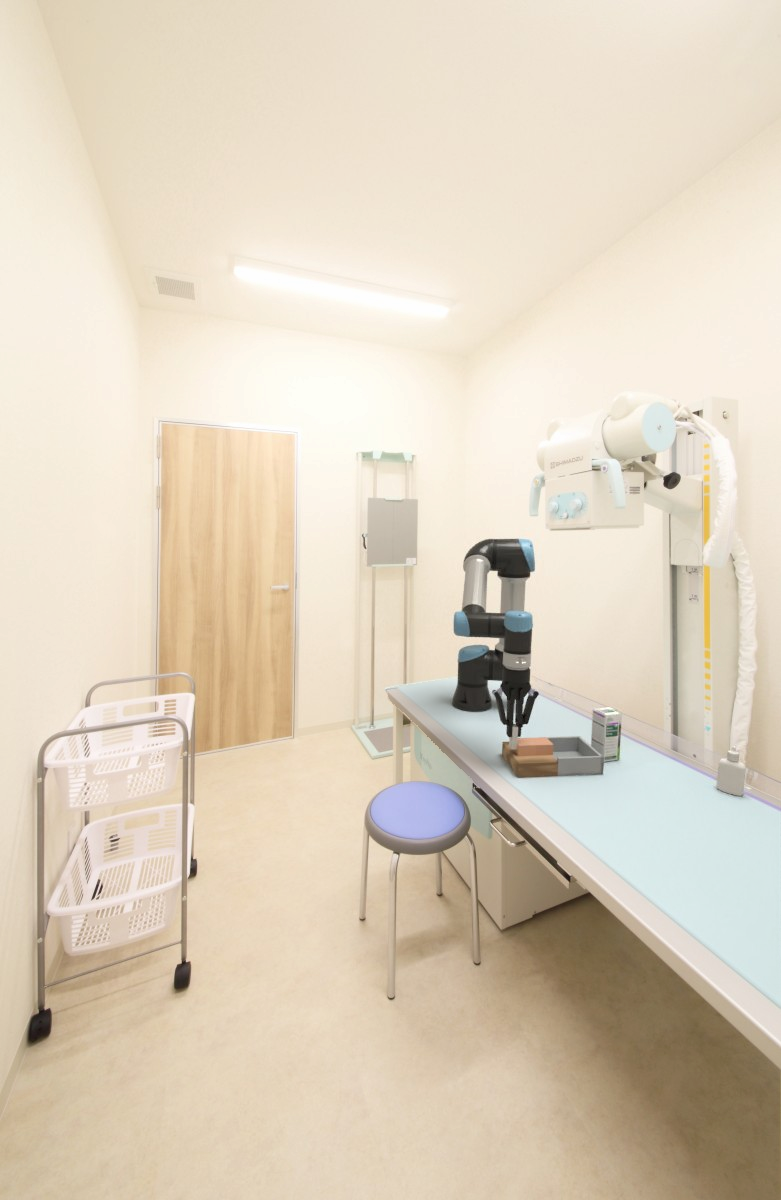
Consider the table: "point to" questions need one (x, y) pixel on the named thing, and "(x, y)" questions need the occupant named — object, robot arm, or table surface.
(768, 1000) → the table surface
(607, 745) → the syrup box
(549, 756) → the board
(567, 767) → the bin
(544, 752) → the tile
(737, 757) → the eye dropper bottle
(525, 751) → the tile
